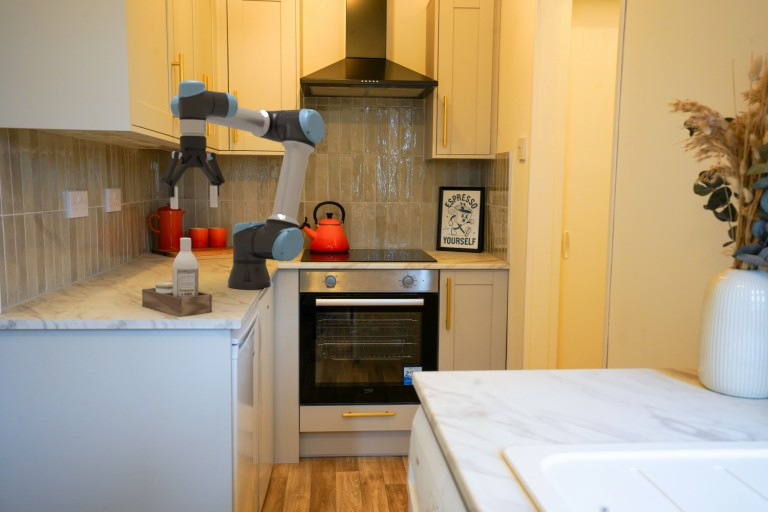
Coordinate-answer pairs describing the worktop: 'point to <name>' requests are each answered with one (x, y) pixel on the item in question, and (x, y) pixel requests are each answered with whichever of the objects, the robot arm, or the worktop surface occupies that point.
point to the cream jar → (164, 286)
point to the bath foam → (185, 271)
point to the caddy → (176, 303)
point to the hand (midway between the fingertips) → (194, 208)
